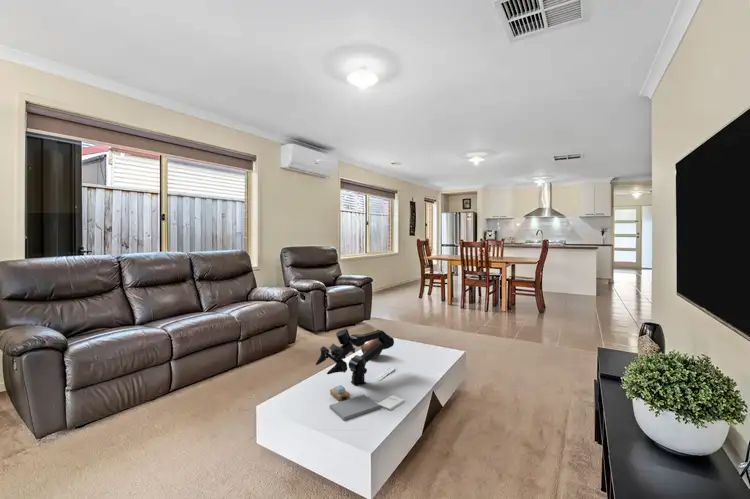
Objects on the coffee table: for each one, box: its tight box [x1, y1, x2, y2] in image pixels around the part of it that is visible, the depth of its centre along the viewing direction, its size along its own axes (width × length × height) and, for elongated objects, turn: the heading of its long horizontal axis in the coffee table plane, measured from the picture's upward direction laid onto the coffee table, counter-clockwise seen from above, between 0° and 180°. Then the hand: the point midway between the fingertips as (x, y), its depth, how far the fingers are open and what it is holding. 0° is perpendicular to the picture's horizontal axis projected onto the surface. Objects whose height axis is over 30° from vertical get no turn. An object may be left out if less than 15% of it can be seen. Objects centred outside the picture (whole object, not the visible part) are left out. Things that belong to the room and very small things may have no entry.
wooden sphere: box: [360, 338, 383, 359], centre depth 239 cm, size 15×15×15 cm
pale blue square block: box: [334, 385, 346, 394], centre depth 180 cm, size 4×4×2 cm
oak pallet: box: [329, 388, 351, 402], centre depth 179 cm, size 6×10×3 cm, turn 34°
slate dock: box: [329, 394, 381, 421], centre depth 167 cm, size 20×14×2 cm
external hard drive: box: [376, 394, 406, 412], centre depth 172 cm, size 2×8×12 cm
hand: (321, 369), depth 180 cm, fingers open, 9 cm apart
